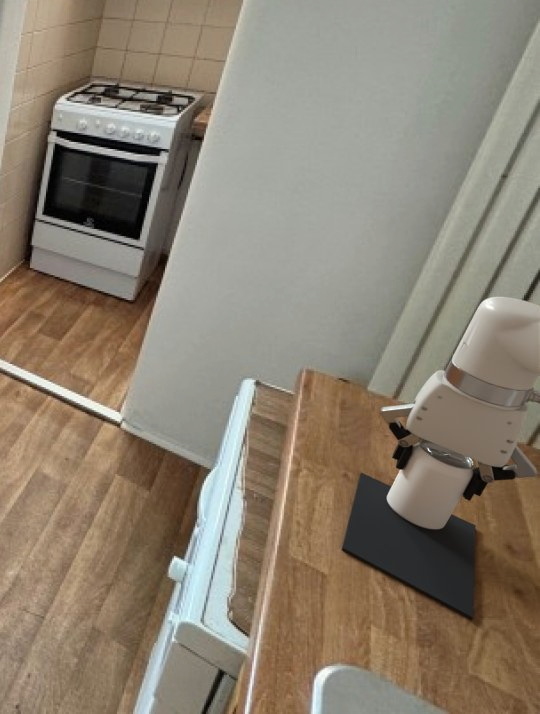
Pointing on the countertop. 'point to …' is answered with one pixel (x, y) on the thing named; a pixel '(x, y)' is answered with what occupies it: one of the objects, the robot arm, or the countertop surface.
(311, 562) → the countertop surface
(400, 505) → the can
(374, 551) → the mat
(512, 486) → the countertop surface
